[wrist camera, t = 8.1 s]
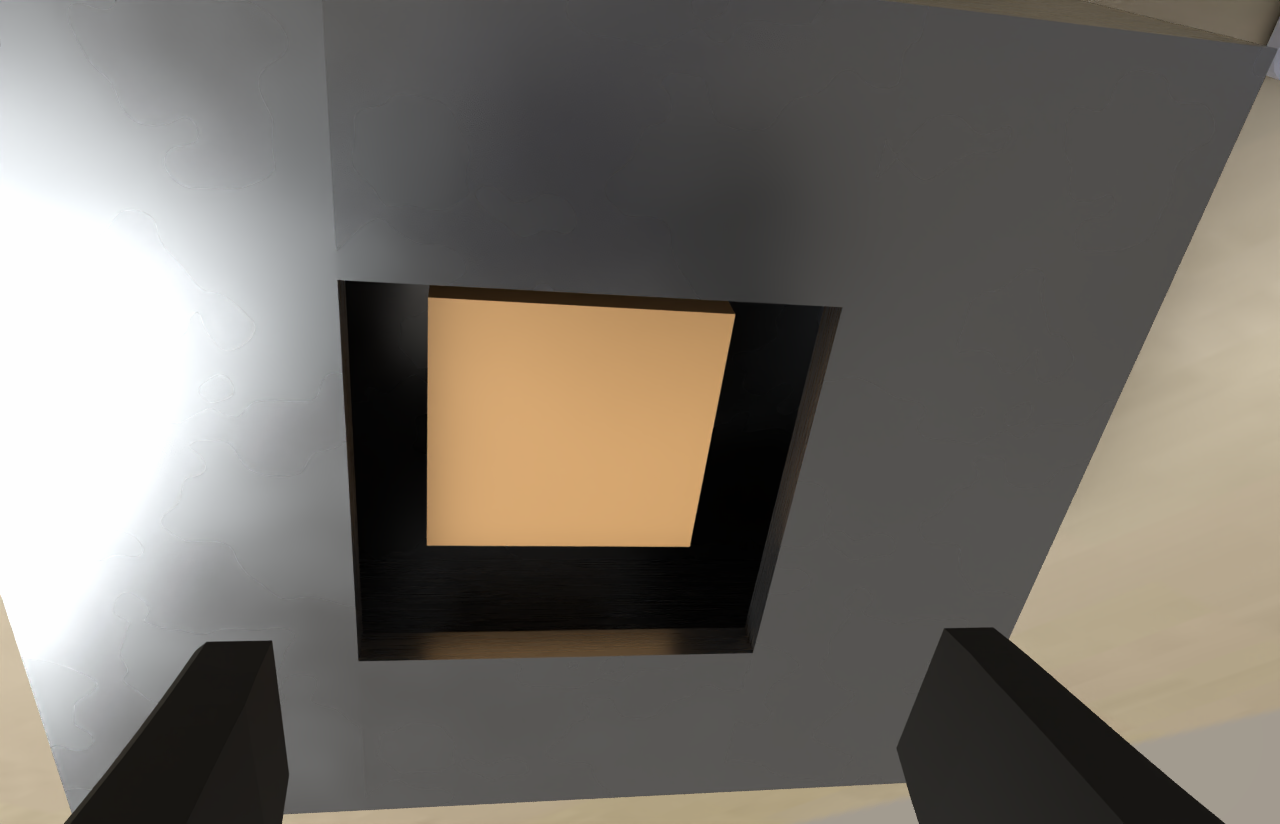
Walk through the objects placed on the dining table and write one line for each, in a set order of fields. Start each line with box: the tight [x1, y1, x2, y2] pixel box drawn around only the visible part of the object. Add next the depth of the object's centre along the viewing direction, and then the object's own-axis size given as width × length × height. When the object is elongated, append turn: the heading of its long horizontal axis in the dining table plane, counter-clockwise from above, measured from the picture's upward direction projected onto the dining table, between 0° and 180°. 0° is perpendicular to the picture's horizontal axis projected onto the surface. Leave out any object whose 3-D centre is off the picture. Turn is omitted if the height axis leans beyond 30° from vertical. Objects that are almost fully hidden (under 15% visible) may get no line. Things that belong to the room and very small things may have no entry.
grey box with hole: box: [0, 0, 1278, 814], centre depth 16 cm, size 16×14×6 cm
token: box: [427, 285, 735, 547], centre depth 16 cm, size 4×4×4 cm
